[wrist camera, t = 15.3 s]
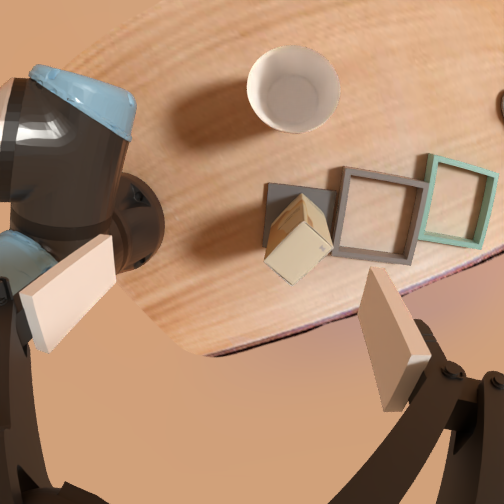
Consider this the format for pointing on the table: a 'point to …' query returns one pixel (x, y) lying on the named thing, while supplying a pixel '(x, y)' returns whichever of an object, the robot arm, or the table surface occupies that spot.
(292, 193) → the slate mat
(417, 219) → the grey frame
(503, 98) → the pocket watch
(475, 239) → the teal frame
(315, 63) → the cup
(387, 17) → the table surface
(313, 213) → the skincare box
